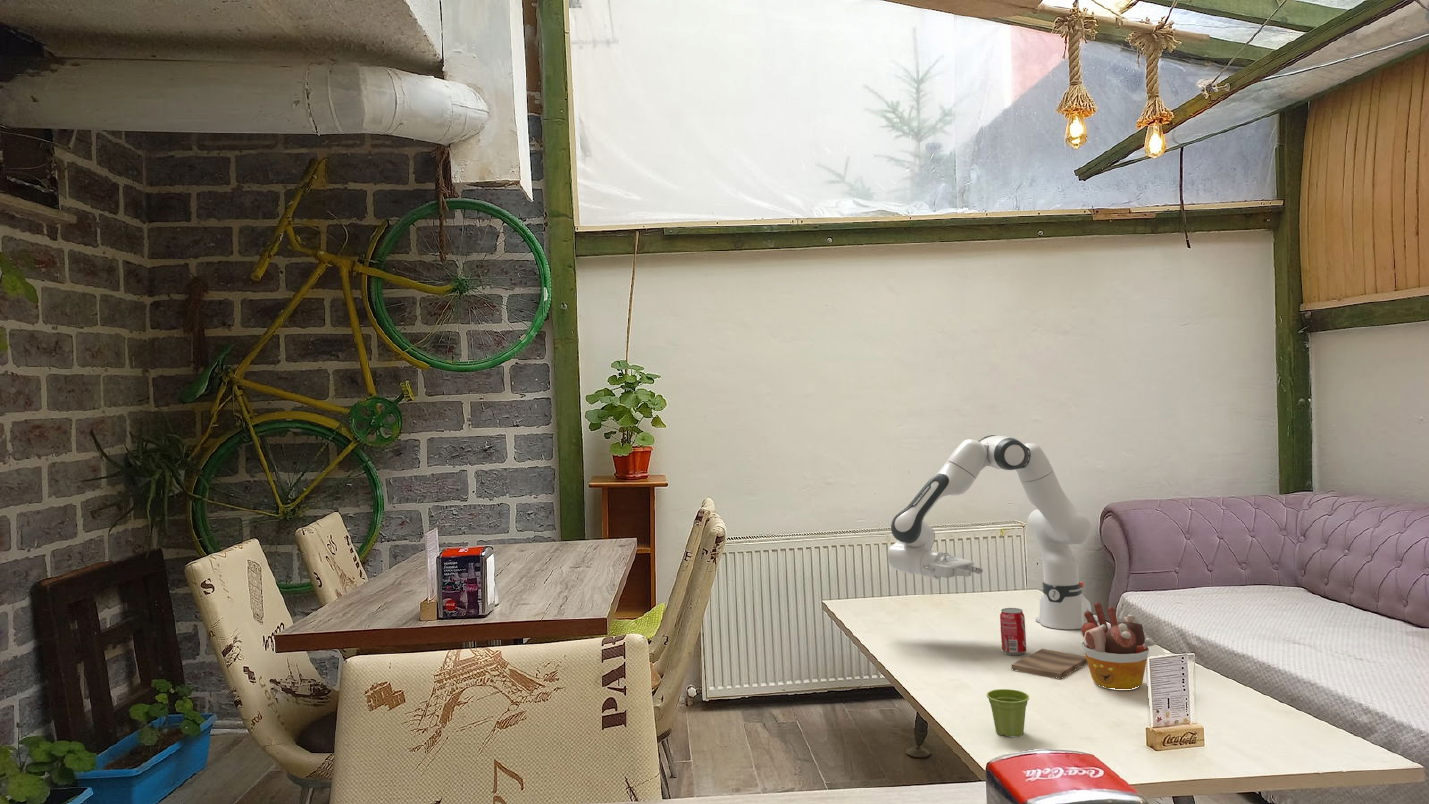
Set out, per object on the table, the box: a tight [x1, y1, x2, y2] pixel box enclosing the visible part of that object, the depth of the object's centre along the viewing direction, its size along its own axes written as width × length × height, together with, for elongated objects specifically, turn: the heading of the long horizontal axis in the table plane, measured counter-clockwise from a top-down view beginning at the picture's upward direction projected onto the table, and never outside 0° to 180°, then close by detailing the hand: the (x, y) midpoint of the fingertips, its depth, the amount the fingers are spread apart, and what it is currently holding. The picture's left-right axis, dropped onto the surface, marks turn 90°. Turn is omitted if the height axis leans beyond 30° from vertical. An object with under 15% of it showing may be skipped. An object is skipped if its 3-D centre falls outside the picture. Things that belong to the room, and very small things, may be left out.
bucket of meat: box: [1080, 601, 1156, 689], centre depth 230 cm, size 20×16×20 cm
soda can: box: [999, 607, 1028, 656], centre depth 262 cm, size 7×7×13 cm
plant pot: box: [986, 688, 1030, 737], centre depth 200 cm, size 9×9×9 cm
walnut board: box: [1011, 648, 1088, 679], centre depth 248 cm, size 20×14×2 cm
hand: (976, 572), depth 270 cm, fingers open, 8 cm apart
